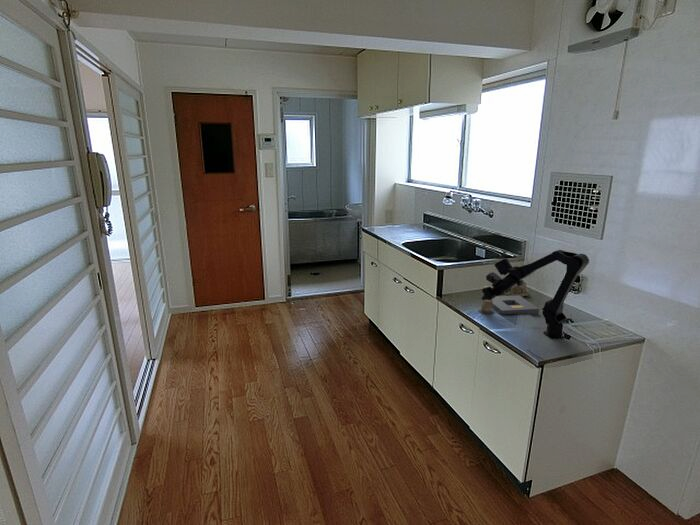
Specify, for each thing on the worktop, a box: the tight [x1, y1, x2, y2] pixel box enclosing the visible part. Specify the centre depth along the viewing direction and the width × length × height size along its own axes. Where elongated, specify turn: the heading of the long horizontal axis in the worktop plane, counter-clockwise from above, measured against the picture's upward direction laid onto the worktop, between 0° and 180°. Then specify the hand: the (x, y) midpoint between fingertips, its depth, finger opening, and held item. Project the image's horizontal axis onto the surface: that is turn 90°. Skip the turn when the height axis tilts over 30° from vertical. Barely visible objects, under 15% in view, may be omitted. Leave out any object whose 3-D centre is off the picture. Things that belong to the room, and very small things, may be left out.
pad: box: [478, 308, 496, 316], centre depth 203 cm, size 8×8×1 cm
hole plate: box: [492, 295, 540, 315], centre depth 210 cm, size 20×20×3 cm
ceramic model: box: [504, 278, 530, 298], centre depth 230 cm, size 14×11×10 cm
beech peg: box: [480, 285, 493, 313], centre depth 201 cm, size 5×5×13 cm
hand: (485, 298), depth 202 cm, fingers closed on beech peg, 5 cm apart
